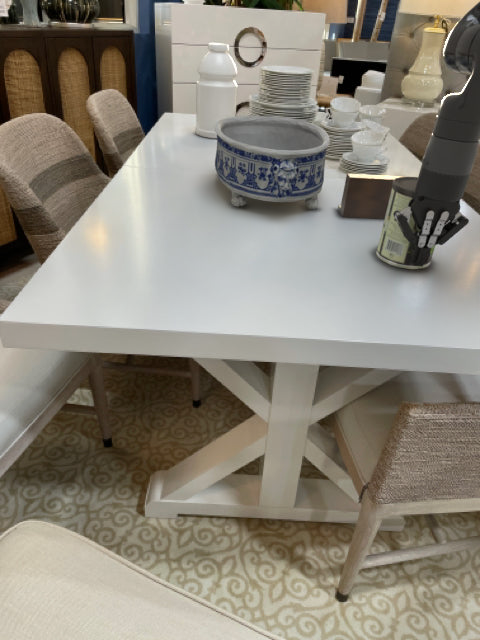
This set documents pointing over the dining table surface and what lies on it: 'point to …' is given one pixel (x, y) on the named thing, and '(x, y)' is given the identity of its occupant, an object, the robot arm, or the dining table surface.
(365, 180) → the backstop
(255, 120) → the decorative bowl
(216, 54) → the bottle
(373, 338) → the dining table surface
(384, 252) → the coffee can
